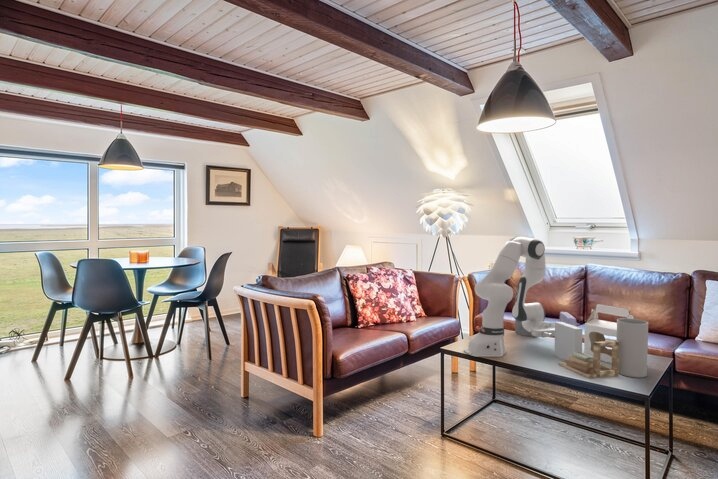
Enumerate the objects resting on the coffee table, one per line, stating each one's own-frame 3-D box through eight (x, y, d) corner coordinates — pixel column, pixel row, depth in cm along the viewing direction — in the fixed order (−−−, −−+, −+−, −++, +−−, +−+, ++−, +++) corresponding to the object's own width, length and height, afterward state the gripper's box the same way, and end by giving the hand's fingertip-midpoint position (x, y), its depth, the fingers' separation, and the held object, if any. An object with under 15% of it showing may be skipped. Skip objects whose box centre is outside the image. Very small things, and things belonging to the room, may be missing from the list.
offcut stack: (585, 373, 203) (585, 358, 202) (566, 365, 215) (566, 350, 215) (595, 373, 204) (596, 358, 204) (576, 364, 217) (576, 350, 216)
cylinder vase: (612, 368, 215) (613, 317, 214) (641, 370, 212) (643, 319, 211) (619, 376, 203) (621, 323, 202) (650, 379, 200) (652, 325, 199)
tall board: (574, 364, 221) (575, 329, 220) (554, 355, 237) (555, 322, 236) (581, 364, 222) (582, 328, 221) (561, 354, 237) (561, 321, 237)
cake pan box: (576, 349, 247) (577, 318, 247) (566, 349, 248) (567, 318, 248) (566, 340, 266) (567, 311, 266) (557, 340, 267) (558, 311, 266)
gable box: (640, 363, 224) (641, 308, 223) (626, 367, 217) (628, 311, 216) (597, 352, 243) (598, 301, 242) (583, 355, 236) (584, 304, 235)
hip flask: (538, 337, 275) (538, 305, 274) (534, 337, 273) (534, 305, 272) (517, 331, 288) (517, 301, 288) (513, 332, 286) (513, 301, 285)
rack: (587, 378, 201) (588, 343, 201) (558, 364, 221) (559, 332, 220) (618, 375, 205) (619, 341, 204) (587, 362, 224) (588, 331, 224)
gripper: (526, 324, 248) (541, 330, 234) (558, 322, 252) (575, 328, 238) (526, 335, 248) (541, 342, 234) (558, 333, 252) (575, 340, 239)
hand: (558, 335), depth 236 cm, fingers open, 8 cm apart
